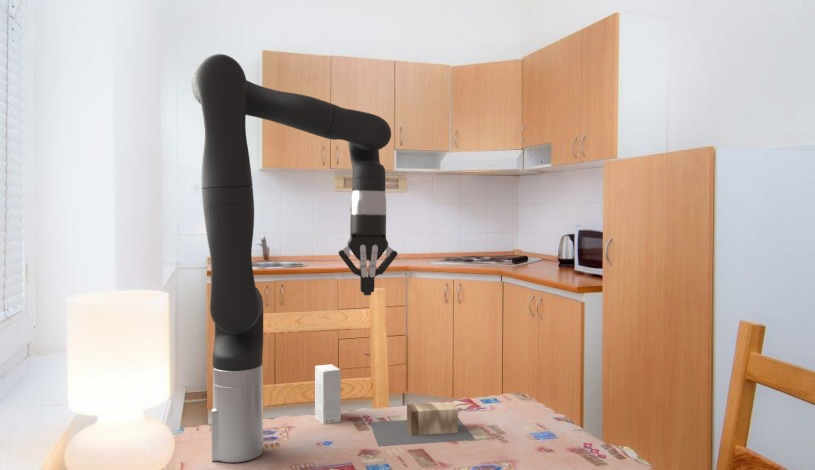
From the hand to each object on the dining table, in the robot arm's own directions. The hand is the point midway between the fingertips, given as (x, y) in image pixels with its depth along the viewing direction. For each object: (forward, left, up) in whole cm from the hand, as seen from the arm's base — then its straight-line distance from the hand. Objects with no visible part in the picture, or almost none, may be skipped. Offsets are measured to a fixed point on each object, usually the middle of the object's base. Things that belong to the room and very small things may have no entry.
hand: (367, 294), depth 129 cm
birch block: (+9, -3, -26) cm, 28 cm away
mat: (+11, -3, -29) cm, 31 cm away
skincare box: (-8, +8, -30) cm, 32 cm away
